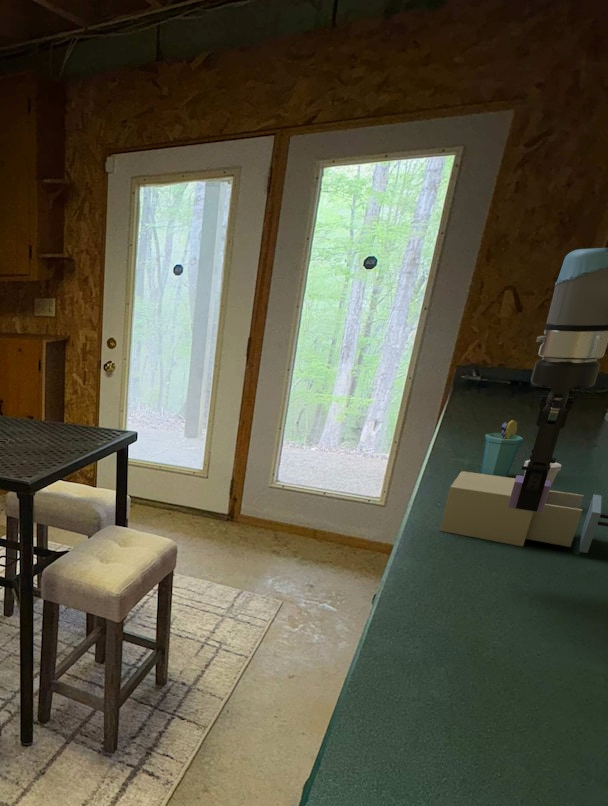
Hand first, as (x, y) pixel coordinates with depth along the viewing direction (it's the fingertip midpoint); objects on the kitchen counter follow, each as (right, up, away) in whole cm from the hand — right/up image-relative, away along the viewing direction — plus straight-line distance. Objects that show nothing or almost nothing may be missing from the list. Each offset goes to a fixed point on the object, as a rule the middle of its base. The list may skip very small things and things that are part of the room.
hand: (527, 504), depth 102 cm
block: (0, 0, 0) cm, 0 cm away
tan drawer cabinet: (+13, -4, +26) cm, 30 cm away
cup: (+39, +9, +57) cm, 70 cm away
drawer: (+22, -6, +18) cm, 29 cm away
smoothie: (+33, +1, +38) cm, 51 cm away
